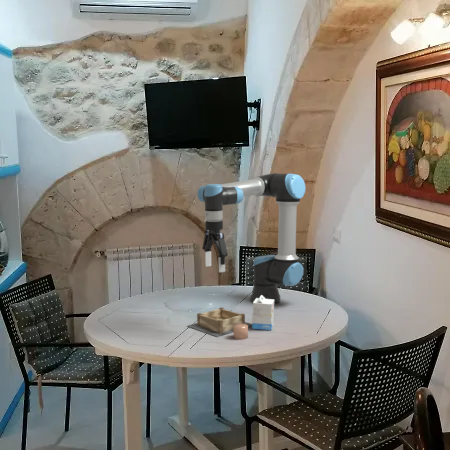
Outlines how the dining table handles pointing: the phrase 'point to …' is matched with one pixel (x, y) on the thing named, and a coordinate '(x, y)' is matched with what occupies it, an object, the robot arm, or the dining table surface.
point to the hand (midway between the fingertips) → (215, 269)
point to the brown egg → (240, 331)
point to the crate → (218, 322)
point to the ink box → (263, 313)
